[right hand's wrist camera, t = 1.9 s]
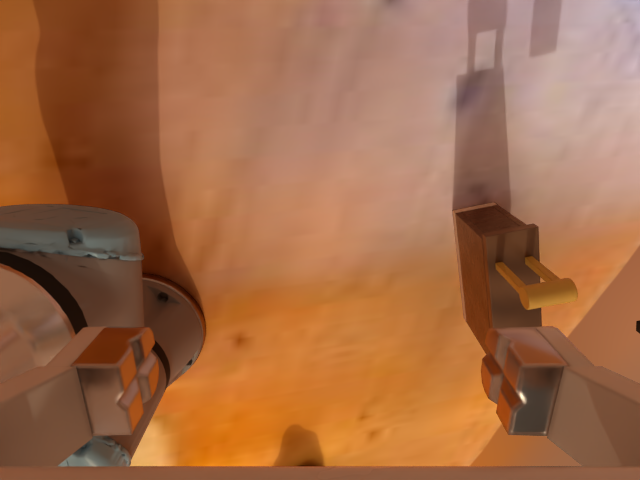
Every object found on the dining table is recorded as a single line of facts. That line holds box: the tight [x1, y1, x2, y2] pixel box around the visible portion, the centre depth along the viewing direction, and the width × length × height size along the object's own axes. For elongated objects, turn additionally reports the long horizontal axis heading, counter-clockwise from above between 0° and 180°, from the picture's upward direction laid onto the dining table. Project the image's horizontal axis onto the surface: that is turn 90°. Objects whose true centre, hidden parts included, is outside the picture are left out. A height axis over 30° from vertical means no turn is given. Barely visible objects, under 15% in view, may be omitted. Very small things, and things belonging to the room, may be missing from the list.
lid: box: [482, 224, 578, 328], centre depth 39 cm, size 16×5×8 cm, turn 12°
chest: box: [452, 202, 526, 355], centre depth 48 cm, size 15×5×10 cm, turn 12°
